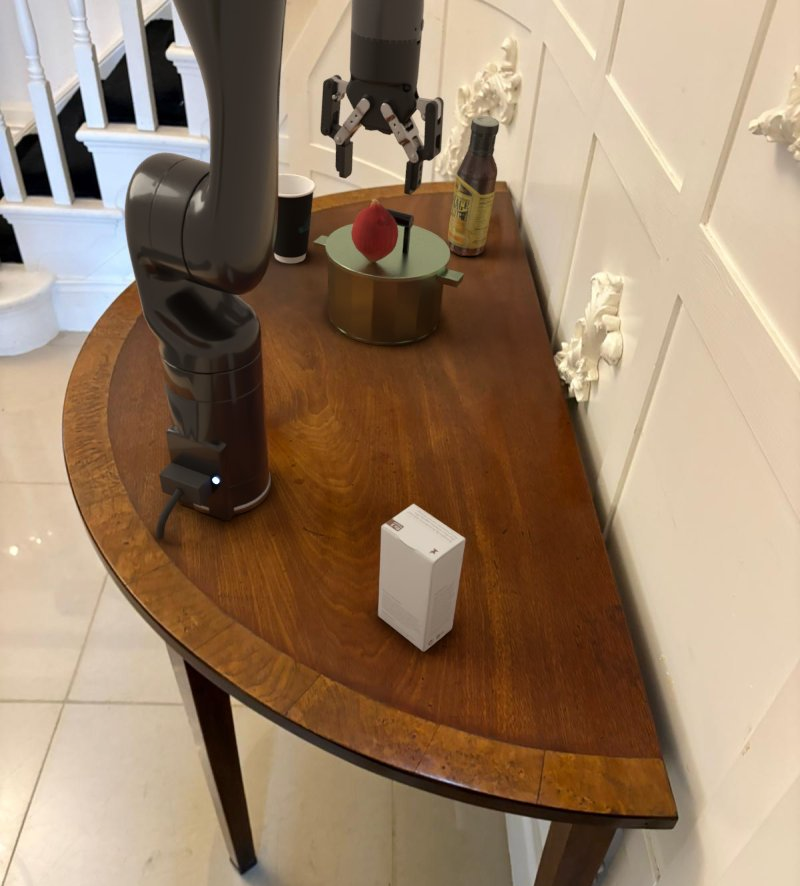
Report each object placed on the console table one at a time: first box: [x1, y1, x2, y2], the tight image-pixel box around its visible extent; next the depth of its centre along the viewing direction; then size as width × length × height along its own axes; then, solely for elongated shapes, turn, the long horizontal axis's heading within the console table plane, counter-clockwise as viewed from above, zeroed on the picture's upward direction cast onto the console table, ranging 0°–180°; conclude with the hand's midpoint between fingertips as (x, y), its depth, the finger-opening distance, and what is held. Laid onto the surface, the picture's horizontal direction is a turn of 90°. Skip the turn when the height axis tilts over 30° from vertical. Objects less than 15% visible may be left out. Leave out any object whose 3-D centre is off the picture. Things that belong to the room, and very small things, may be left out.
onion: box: [351, 198, 398, 262], centre depth 98 cm, size 6×6×8 cm
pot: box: [313, 234, 465, 347], centre depth 108 cm, size 16×21×10 cm
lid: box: [324, 203, 451, 282], centre depth 103 cm, size 17×17×6 cm
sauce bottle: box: [447, 115, 500, 257], centre depth 121 cm, size 7×6×20 cm
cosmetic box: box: [377, 503, 466, 652], centre depth 68 cm, size 6×4×12 cm
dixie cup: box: [273, 173, 317, 264], centre depth 118 cm, size 8×8×11 cm
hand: (377, 184), depth 94 cm, fingers open, 8 cm apart
